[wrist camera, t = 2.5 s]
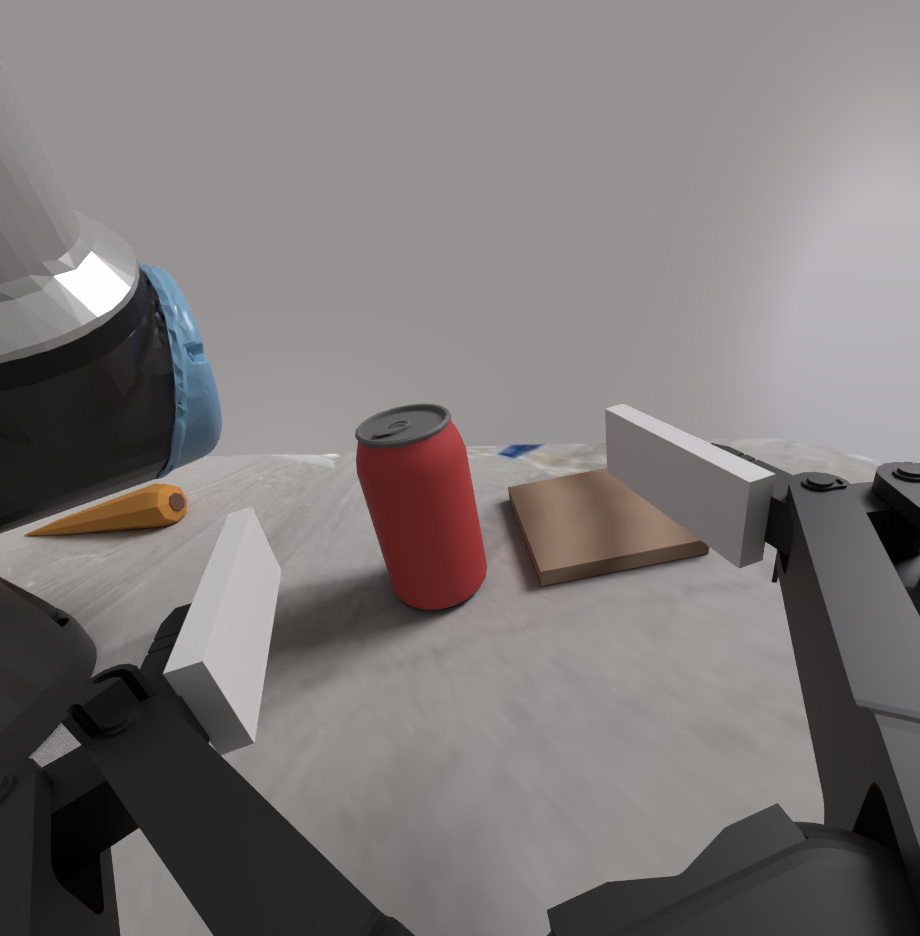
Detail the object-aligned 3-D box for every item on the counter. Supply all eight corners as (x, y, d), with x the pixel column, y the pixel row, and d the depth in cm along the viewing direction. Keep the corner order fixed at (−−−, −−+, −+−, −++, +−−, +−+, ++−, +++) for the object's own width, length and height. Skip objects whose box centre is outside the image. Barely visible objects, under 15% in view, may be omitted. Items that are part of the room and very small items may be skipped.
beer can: (378, 582, 32) (327, 429, 27) (451, 538, 35) (419, 393, 30) (428, 633, 27) (378, 458, 22) (508, 577, 30) (482, 412, 25)
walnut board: (542, 586, 29) (540, 571, 28) (509, 499, 39) (508, 487, 38) (708, 553, 29) (710, 538, 28) (634, 475, 39) (634, 462, 38)
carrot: (200, 518, 47) (188, 476, 47) (165, 528, 43) (152, 483, 43) (51, 549, 51) (39, 511, 51) (5, 562, 47) (-8, 520, 46)
